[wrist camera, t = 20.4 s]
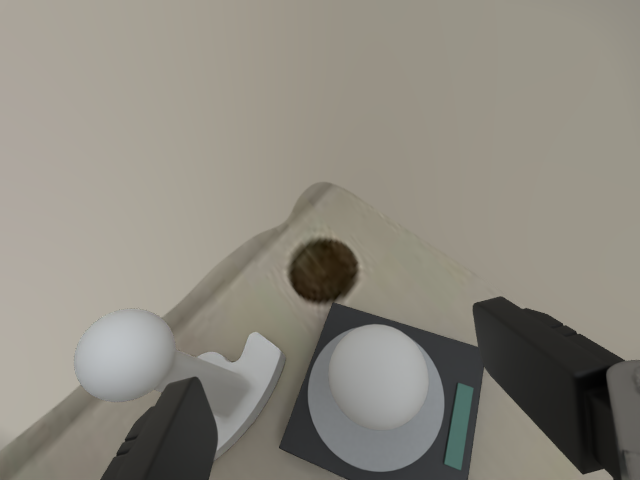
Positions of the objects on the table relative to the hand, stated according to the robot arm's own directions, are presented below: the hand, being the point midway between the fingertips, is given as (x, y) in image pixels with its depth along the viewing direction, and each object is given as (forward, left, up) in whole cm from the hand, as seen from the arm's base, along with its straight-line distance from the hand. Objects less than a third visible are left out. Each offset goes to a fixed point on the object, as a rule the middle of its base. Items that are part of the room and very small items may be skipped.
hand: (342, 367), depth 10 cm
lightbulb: (+2, 0, -21) cm, 21 cm away
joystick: (-1, +13, -24) cm, 27 cm away
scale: (+3, -1, -24) cm, 24 cm away
